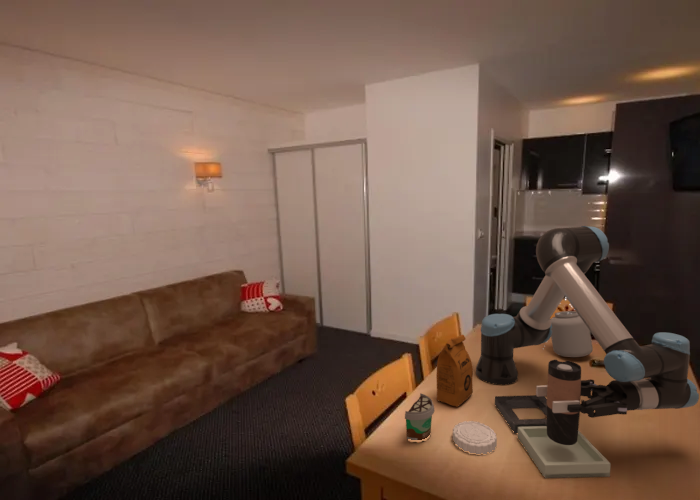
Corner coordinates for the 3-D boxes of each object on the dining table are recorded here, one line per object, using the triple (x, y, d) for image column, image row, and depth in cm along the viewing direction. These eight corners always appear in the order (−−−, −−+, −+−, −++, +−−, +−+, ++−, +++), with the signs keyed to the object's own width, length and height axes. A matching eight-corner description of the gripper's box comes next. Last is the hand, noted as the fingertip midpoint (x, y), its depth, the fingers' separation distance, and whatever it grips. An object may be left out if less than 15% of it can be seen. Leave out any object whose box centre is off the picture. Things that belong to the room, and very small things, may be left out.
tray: (517, 438, 112) (517, 426, 111) (573, 436, 111) (573, 425, 111) (544, 478, 96) (545, 465, 95) (609, 476, 96) (610, 463, 95)
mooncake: (443, 438, 113) (443, 427, 113) (473, 425, 119) (473, 414, 118) (475, 462, 103) (475, 449, 102) (506, 447, 108) (506, 435, 108)
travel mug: (566, 449, 98) (569, 374, 95) (539, 433, 104) (541, 363, 102) (584, 440, 101) (588, 367, 98) (557, 425, 108) (560, 356, 105)
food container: (425, 451, 107) (425, 417, 106) (405, 444, 111) (404, 411, 109) (440, 428, 118) (440, 397, 116) (421, 422, 121) (421, 392, 120)
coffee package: (477, 397, 134) (478, 336, 131) (457, 411, 126) (457, 347, 123) (452, 387, 142) (453, 329, 139) (432, 400, 134) (432, 339, 131)
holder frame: (494, 404, 129) (494, 396, 129) (542, 403, 129) (543, 395, 129) (514, 433, 114) (514, 424, 113) (569, 432, 113) (569, 423, 113)
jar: (536, 351, 171) (538, 296, 168) (555, 343, 179) (558, 290, 175) (580, 366, 155) (583, 305, 152) (599, 357, 163) (602, 299, 159)
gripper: (661, 431, 92) (566, 435, 91) (603, 389, 112) (525, 392, 112) (664, 401, 91) (568, 406, 90) (605, 364, 111) (526, 368, 111)
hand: (544, 398), depth 101 cm, fingers closed on travel mug, 7 cm apart
